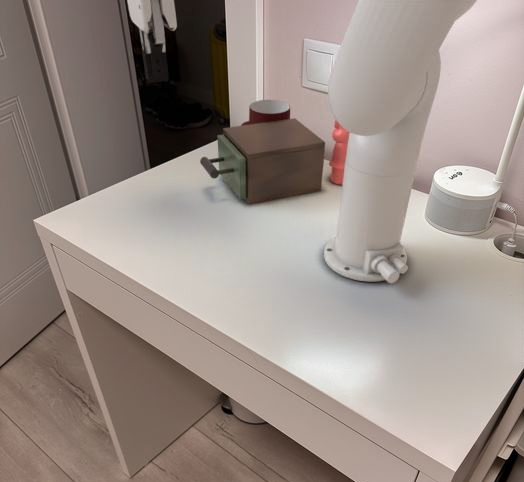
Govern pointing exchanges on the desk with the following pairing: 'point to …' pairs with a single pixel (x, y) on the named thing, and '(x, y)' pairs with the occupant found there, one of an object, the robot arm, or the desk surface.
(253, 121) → the mug
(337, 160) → the figurine
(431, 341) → the desk surface
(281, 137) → the cabinet
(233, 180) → the drawer
